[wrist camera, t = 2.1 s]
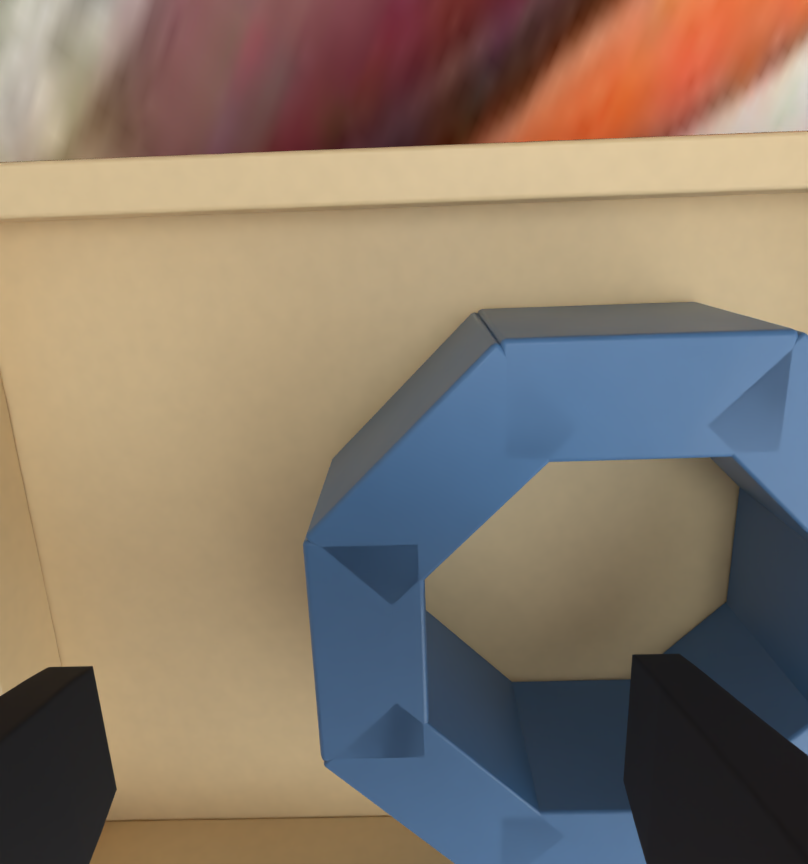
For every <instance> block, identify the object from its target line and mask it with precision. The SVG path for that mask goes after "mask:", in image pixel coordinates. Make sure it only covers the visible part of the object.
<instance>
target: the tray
mask: <svg viewBox="0 0 808 864" xmlns="http://www.w3.org/2000/svg"><path fill="white" fill-rule="evenodd" d="M672 302H697V303H701V304H704V305H708V306H712V307H715V308H719V309H723V310H726V311H730V312H734V313H737V314H741V315H745V316H748V317H752V318H755V319H759V320H763V321H766V322H770V323H774V324H777V325H781V326H785V327H788V328H792V329H794V330H797V331H801V332H804V333H806V334H807V335H808V131H788V132H762V133H737V134H711V135H686V136H660V137H635V138H609V139H584V140H558V141H533V142H507V143H482V144H456V145H431V146H405V147H380V148H354V149H328V150H303V151H277V152H252V153H226V154H201V155H175V156H150V157H124V158H99V159H73V160H48V161H22V162H0V696H1V695H3V694H4V693H6V692H7V691H9V690H11V689H12V688H14V687H15V686H17V685H19V684H20V683H22V682H23V681H25V680H27V679H28V678H30V677H32V676H33V675H35V674H37V673H39V672H40V671H42V670H44V669H46V668H47V667H70V666H93V670H94V675H95V680H96V685H97V690H98V695H99V700H100V705H101V711H102V716H103V721H104V726H105V731H106V736H107V741H108V746H109V752H110V757H111V762H112V767H113V772H114V777H115V782H116V787H117V790H116V793H115V796H114V799H113V801H112V804H111V807H110V810H109V813H108V815H107V818H106V821H105V824H104V827H103V830H102V832H101V835H100V838H99V840H98V843H97V845H96V848H95V850H94V853H93V856H92V858H91V861H90V863H89V864H454V863H453V862H452V861H450V860H449V859H448V858H446V857H445V856H444V855H442V854H441V853H440V852H438V851H437V850H436V849H434V848H433V847H432V846H430V845H429V844H428V843H426V842H425V841H424V840H422V839H421V838H420V837H418V836H417V835H416V834H414V833H413V832H412V831H410V830H409V829H408V828H406V827H405V826H404V825H402V824H401V823H400V822H398V821H397V820H396V819H394V818H393V817H392V816H390V815H389V814H388V813H386V812H385V811H384V810H382V809H381V808H380V807H378V806H377V805H376V804H374V803H373V802H372V801H370V800H369V799H368V798H366V797H365V796H364V795H362V794H361V793H359V792H358V791H357V790H355V789H354V788H353V787H351V786H350V785H349V784H347V783H346V782H345V781H343V780H342V779H341V778H339V777H338V776H337V775H335V774H334V773H333V772H331V771H330V770H329V769H327V768H326V767H325V766H324V760H323V759H322V757H321V752H320V740H319V728H318V716H317V705H316V693H315V681H314V670H313V658H312V646H311V635H310V623H309V611H308V599H307V588H306V576H305V564H304V553H303V543H304V540H305V537H306V534H307V531H308V528H309V525H310V522H311V520H312V517H313V514H314V511H315V508H316V505H317V502H318V499H319V496H320V493H321V490H322V488H323V485H324V482H325V479H326V476H327V473H328V470H329V467H330V465H331V462H332V459H333V458H334V457H335V456H336V455H337V454H338V452H339V451H340V450H341V449H342V448H343V447H344V446H345V445H346V444H347V443H348V442H349V441H350V440H351V439H352V438H353V437H354V436H355V435H356V434H357V433H358V432H359V431H360V429H361V428H362V427H363V426H364V425H365V424H366V423H367V422H368V421H369V420H370V419H371V418H372V417H373V416H374V415H375V414H376V413H377V412H378V411H379V410H380V409H381V407H382V406H383V405H384V404H385V403H386V402H387V401H388V400H389V399H390V398H391V397H392V396H393V395H394V394H395V393H396V392H397V391H398V390H399V389H400V388H401V387H402V386H403V384H404V383H405V382H406V381H407V380H408V379H409V378H410V377H411V376H412V375H413V374H414V373H415V372H416V371H417V370H418V369H419V368H420V367H421V366H422V365H423V364H424V363H425V361H426V360H427V359H428V358H429V357H430V356H431V355H432V354H433V353H434V352H435V351H436V350H437V349H438V348H439V347H440V346H441V345H442V344H443V343H444V342H445V341H446V340H447V338H448V337H449V336H450V335H451V334H452V333H453V332H454V331H455V330H456V329H457V328H458V327H459V326H460V325H461V324H462V323H463V322H464V321H465V320H466V319H467V318H468V317H469V315H470V314H472V313H474V312H475V313H478V311H479V310H481V309H494V308H524V307H554V306H583V305H613V304H642V303H672ZM738 496H739V486H738V485H737V484H736V483H735V482H734V481H733V480H732V479H731V478H730V477H729V476H728V475H727V474H726V473H725V472H724V471H723V470H722V469H721V468H720V467H719V466H718V465H717V464H716V463H715V462H714V461H713V460H712V459H711V458H710V457H708V458H673V459H638V460H604V461H569V462H549V463H548V464H547V465H545V466H544V467H543V468H542V469H541V470H540V471H539V472H538V473H537V474H536V475H535V476H534V477H533V478H532V479H531V480H530V481H529V482H527V483H526V484H525V485H524V486H523V487H522V488H521V489H520V490H519V491H518V492H517V493H516V494H515V495H514V496H513V497H512V498H511V499H509V500H508V501H507V502H506V503H505V504H504V505H503V506H502V507H501V508H500V509H499V510H498V511H497V512H496V513H495V514H494V515H493V516H491V517H490V518H489V519H488V520H487V521H486V522H485V523H484V524H483V525H482V526H481V527H480V528H479V529H478V530H477V531H476V532H475V533H473V534H472V535H471V536H470V537H469V538H468V539H467V540H466V541H465V542H464V543H463V544H462V545H461V546H460V547H459V548H458V549H457V550H455V551H454V552H453V553H452V554H451V555H450V556H449V557H448V558H447V559H446V560H445V561H444V562H443V563H442V564H441V565H440V566H439V567H437V568H436V569H435V570H434V571H433V572H432V573H431V574H430V575H429V576H428V577H427V578H426V579H425V601H426V610H427V611H428V612H429V613H430V614H431V615H433V616H434V617H435V618H436V619H437V620H439V621H440V622H441V623H442V624H443V625H444V626H446V627H447V628H448V629H449V630H450V631H452V632H453V633H454V634H455V635H456V636H458V637H459V638H460V639H461V640H462V641H464V642H465V643H466V644H467V645H468V646H470V647H471V648H472V649H473V650H474V651H476V652H477V653H478V654H479V655H480V656H482V657H483V658H484V659H485V660H486V661H488V662H489V663H490V664H491V665H492V666H494V667H495V668H496V669H497V670H498V671H500V672H501V673H502V674H503V675H504V676H505V677H507V678H508V679H509V680H510V681H511V682H528V681H574V680H620V679H631V667H632V655H634V654H663V653H664V652H665V651H666V650H668V649H669V648H670V647H671V646H673V645H674V644H675V643H676V642H677V641H679V640H680V639H681V638H682V637H684V636H685V635H686V634H687V633H688V632H690V631H691V630H692V629H693V628H695V627H696V626H697V625H698V624H699V623H701V622H702V621H703V620H704V619H706V618H707V617H708V616H709V615H710V614H712V613H713V612H714V611H715V610H717V609H718V608H719V607H720V606H721V605H723V604H724V603H725V602H726V601H727V593H728V584H729V575H730V566H731V558H732V549H733V540H734V531H735V523H736V514H737V505H738Z"/></svg>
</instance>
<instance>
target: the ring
mask: <svg viewBox="0 0 808 864" xmlns="http://www.w3.org/2000/svg"><path fill="white" fill-rule="evenodd" d="M708 457H710V458H711V459H712V460H713V461H714V462H715V463H716V464H717V465H718V466H719V467H720V468H721V469H722V470H723V471H724V472H725V473H726V474H727V475H728V476H729V477H730V478H731V479H732V480H733V481H734V482H735V483H736V484H737V485H738V486H739V496H738V505H737V514H736V523H735V531H734V540H733V549H732V558H731V566H730V575H729V584H728V593H727V601H726V602H725V603H724V604H723V605H721V606H720V607H719V608H718V609H717V610H715V611H714V612H713V613H712V614H710V615H709V616H708V617H707V618H706V619H704V620H703V621H702V622H701V623H699V624H698V625H697V626H696V627H695V628H693V629H692V630H691V631H690V632H688V633H687V634H686V635H685V636H684V637H682V638H681V639H680V640H679V641H677V642H676V643H675V644H674V645H673V646H671V647H670V648H669V649H668V650H666V651H665V652H664V653H663V654H680V655H682V656H683V657H684V658H686V659H687V660H688V661H690V662H691V663H692V664H694V665H695V666H696V667H698V668H699V669H700V670H701V671H703V672H704V673H705V674H706V675H708V676H709V677H710V678H711V679H713V680H714V681H715V682H716V683H717V684H719V685H720V686H721V687H722V688H724V689H725V690H726V691H727V692H729V693H730V694H731V695H732V696H734V697H735V698H736V699H737V700H738V701H740V702H741V703H742V704H743V705H745V706H746V707H747V708H748V709H750V710H751V711H752V712H753V713H755V714H756V715H757V716H758V717H760V718H761V719H762V720H763V721H765V722H766V723H767V724H768V725H770V726H771V727H772V728H773V729H775V730H776V731H777V732H779V733H780V734H781V735H782V736H784V737H785V738H786V739H787V740H789V741H790V742H791V743H793V744H794V745H795V746H796V747H798V748H799V749H800V750H802V751H803V752H804V753H805V754H807V755H808V335H807V334H806V333H804V332H801V331H797V330H794V329H792V328H788V327H785V326H781V325H777V324H774V323H770V322H766V321H763V320H759V319H755V318H752V317H748V316H745V315H741V314H737V313H734V312H730V311H726V310H723V309H719V308H715V307H712V306H708V305H704V304H701V303H697V302H672V303H642V304H613V305H583V306H554V307H524V308H494V309H481V310H479V311H478V313H475V312H474V313H472V314H470V315H469V317H468V318H467V319H466V320H465V321H464V322H463V323H462V324H461V325H460V326H459V327H458V328H457V329H456V330H455V331H454V332H453V333H452V334H451V335H450V336H449V337H448V338H447V340H446V341H445V342H444V343H443V344H442V345H441V346H440V347H439V348H438V349H437V350H436V351H435V352H434V353H433V354H432V355H431V356H430V357H429V358H428V359H427V360H426V361H425V363H424V364H423V365H422V366H421V367H420V368H419V369H418V370H417V371H416V372H415V373H414V374H413V375H412V376H411V377H410V378H409V379H408V380H407V381H406V382H405V383H404V384H403V386H402V387H401V388H400V389H399V390H398V391H397V392H396V393H395V394H394V395H393V396H392V397H391V398H390V399H389V400H388V401H387V402H386V403H385V404H384V405H383V406H382V407H381V409H380V410H379V411H378V412H377V413H376V414H375V415H374V416H373V417H372V418H371V419H370V420H369V421H368V422H367V423H366V424H365V425H364V426H363V427H362V428H361V429H360V431H359V432H358V433H357V434H356V435H355V436H354V437H353V438H352V439H351V440H350V441H349V442H348V443H347V444H346V445H345V446H344V447H343V448H342V449H341V450H340V451H339V452H338V454H337V455H336V456H335V457H334V458H333V459H332V462H331V465H330V467H329V470H328V473H327V476H326V479H325V482H324V485H323V488H322V490H321V493H320V496H319V499H318V502H317V505H316V508H315V511H314V514H313V517H312V520H311V522H310V525H309V528H308V531H307V534H306V537H305V540H304V543H303V553H304V564H305V576H306V588H307V599H308V611H309V623H310V635H311V646H312V658H313V670H314V681H315V693H316V705H317V716H318V728H319V740H320V752H321V757H322V759H323V760H324V766H325V767H326V768H327V769H329V770H330V771H331V772H333V773H334V774H335V775H337V776H338V777H339V778H341V779H342V780H343V781H345V782H346V783H347V784H349V785H350V786H351V787H353V788H354V789H355V790H357V791H358V792H359V793H361V794H362V795H364V796H365V797H366V798H368V799H369V800H370V801H372V802H373V803H374V804H376V805H377V806H378V807H380V808H381V809H382V810H384V811H385V812H386V813H388V814H389V815H390V816H392V817H393V818H394V819H396V820H397V821H398V822H400V823H401V824H402V825H404V826H405V827H406V828H408V829H409V830H410V831H412V832H413V833H414V834H416V835H417V836H418V837H420V838H421V839H422V840H424V841H425V842H426V843H428V844H429V845H430V846H432V847H433V848H434V849H436V850H437V851H438V852H440V853H441V854H442V855H444V856H445V857H446V858H448V859H449V860H450V861H452V862H453V863H454V864H646V861H645V857H644V854H643V850H642V847H641V844H640V840H639V837H638V833H637V830H636V826H635V823H634V819H633V815H632V811H631V808H630V804H629V800H628V796H627V793H626V789H625V785H624V781H623V778H624V764H625V750H626V736H627V722H628V708H629V694H630V681H631V679H620V680H574V681H528V682H511V681H510V680H509V679H508V678H507V677H505V676H504V675H503V674H502V673H501V672H500V671H498V670H497V669H496V668H495V667H494V666H492V665H491V664H490V663H489V662H488V661H486V660H485V659H484V658H483V657H482V656H480V655H479V654H478V653H477V652H476V651H474V650H473V649H472V648H471V647H470V646H468V645H467V644H466V643H465V642H464V641H462V640H461V639H460V638H459V637H458V636H456V635H455V634H454V633H453V632H452V631H450V630H449V629H448V628H447V627H446V626H444V625H443V624H442V623H441V622H440V621H439V620H437V619H436V618H435V617H434V616H433V615H431V614H430V613H429V612H428V611H427V610H426V601H425V579H426V578H427V577H428V576H429V575H430V574H431V573H432V572H433V571H434V570H435V569H436V568H437V567H439V566H440V565H441V564H442V563H443V562H444V561H445V560H446V559H447V558H448V557H449V556H450V555H451V554H452V553H453V552H454V551H455V550H457V549H458V548H459V547H460V546H461V545H462V544H463V543H464V542H465V541H466V540H467V539H468V538H469V537H470V536H471V535H472V534H473V533H475V532H476V531H477V530H478V529H479V528H480V527H481V526H482V525H483V524H484V523H485V522H486V521H487V520H488V519H489V518H490V517H491V516H493V515H494V514H495V513H496V512H497V511H498V510H499V509H500V508H501V507H502V506H503V505H504V504H505V503H506V502H507V501H508V500H509V499H511V498H512V497H513V496H514V495H515V494H516V493H517V492H518V491H519V490H520V489H521V488H522V487H523V486H524V485H525V484H526V483H527V482H529V481H530V480H531V479H532V478H533V477H534V476H535V475H536V474H537V473H538V472H539V471H540V470H541V469H542V468H543V467H544V466H545V465H547V464H548V463H549V462H569V461H604V460H638V459H673V458H708Z"/></svg>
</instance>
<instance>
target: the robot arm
mask: <svg viewBox="0 0 808 864" xmlns="http://www.w3.org/2000/svg"><path fill="white" fill-rule="evenodd" d="M623 781H624V785H625V789H626V793H627V796H628V800H629V804H630V808H631V811H632V815H633V819H634V823H635V826H636V830H637V833H638V837H639V840H640V844H641V847H642V850H643V854H644V857H645V861H646V864H808V755H807V754H805V753H804V752H803V751H802V750H800V749H799V748H798V747H796V746H795V745H794V744H793V743H791V742H790V741H789V740H787V739H786V738H785V737H784V736H782V735H781V734H780V733H779V732H777V731H776V730H775V729H773V728H772V727H771V726H770V725H768V724H767V723H766V722H765V721H763V720H762V719H761V718H760V717H758V716H757V715H756V714H755V713H753V712H752V711H751V710H750V709H748V708H747V707H746V706H745V705H743V704H742V703H741V702H740V701H738V700H737V699H736V698H735V697H734V696H732V695H731V694H730V693H729V692H727V691H726V690H725V689H724V688H722V687H721V686H720V685H719V684H717V683H716V682H715V681H714V680H713V679H711V678H710V677H709V676H708V675H706V674H705V673H704V672H703V671H701V670H700V669H699V668H698V667H696V666H695V665H694V664H692V663H691V662H690V661H688V660H687V659H686V658H684V657H683V656H682V655H680V654H634V655H632V667H631V681H630V694H629V708H628V722H627V736H626V750H625V764H624V778H623ZM116 790H117V787H116V782H115V777H114V772H113V767H112V762H111V757H110V752H109V746H108V741H107V736H106V731H105V726H104V721H103V716H102V711H101V705H100V700H99V695H98V690H97V685H96V680H95V675H94V670H93V666H70V667H47V668H46V669H44V670H42V671H40V672H39V673H37V674H35V675H33V676H32V677H30V678H28V679H27V680H25V681H23V682H22V683H20V684H19V685H17V686H15V687H14V688H12V689H11V690H9V691H7V692H6V693H4V694H3V695H1V696H0V864H89V863H90V861H91V858H92V856H93V853H94V850H95V848H96V845H97V843H98V840H99V838H100V835H101V832H102V830H103V827H104V824H105V821H106V818H107V815H108V813H109V810H110V807H111V804H112V801H113V799H114V796H115V793H116Z"/></svg>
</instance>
